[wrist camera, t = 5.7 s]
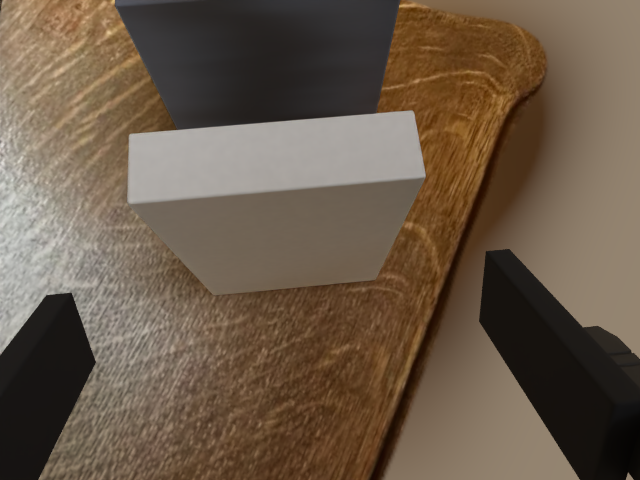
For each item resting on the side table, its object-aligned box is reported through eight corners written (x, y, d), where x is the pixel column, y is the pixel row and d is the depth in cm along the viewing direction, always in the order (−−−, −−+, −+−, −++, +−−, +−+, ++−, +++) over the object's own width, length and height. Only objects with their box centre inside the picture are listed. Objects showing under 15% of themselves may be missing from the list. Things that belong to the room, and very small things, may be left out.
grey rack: (359, 53, 32) (393, -222, 18) (380, 192, 29) (443, -8, 15) (189, 66, 31) (89, -206, 17) (193, 209, 28) (72, 19, 14)
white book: (370, 239, 28) (414, 108, 15) (376, 280, 27) (427, 177, 15) (211, 254, 27) (127, 132, 15) (213, 296, 27) (125, 203, 14)
